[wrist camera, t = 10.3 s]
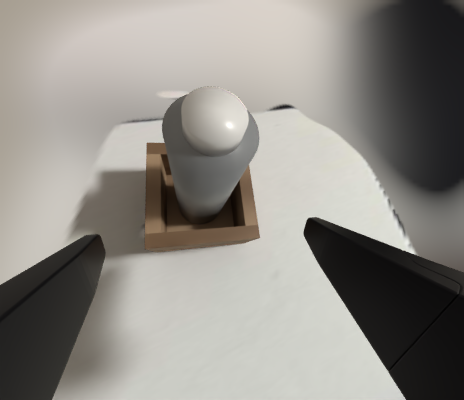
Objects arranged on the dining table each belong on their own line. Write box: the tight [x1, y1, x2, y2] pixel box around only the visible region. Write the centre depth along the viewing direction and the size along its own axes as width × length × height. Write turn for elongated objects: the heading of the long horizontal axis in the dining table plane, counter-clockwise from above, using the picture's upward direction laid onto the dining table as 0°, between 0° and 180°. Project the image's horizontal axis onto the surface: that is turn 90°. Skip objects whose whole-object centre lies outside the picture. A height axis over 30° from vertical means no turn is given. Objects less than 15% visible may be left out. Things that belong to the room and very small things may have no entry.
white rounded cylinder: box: [162, 87, 259, 224], centre depth 13 cm, size 4×4×12 cm
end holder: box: [145, 143, 260, 252], centre depth 17 cm, size 8×8×5 cm
